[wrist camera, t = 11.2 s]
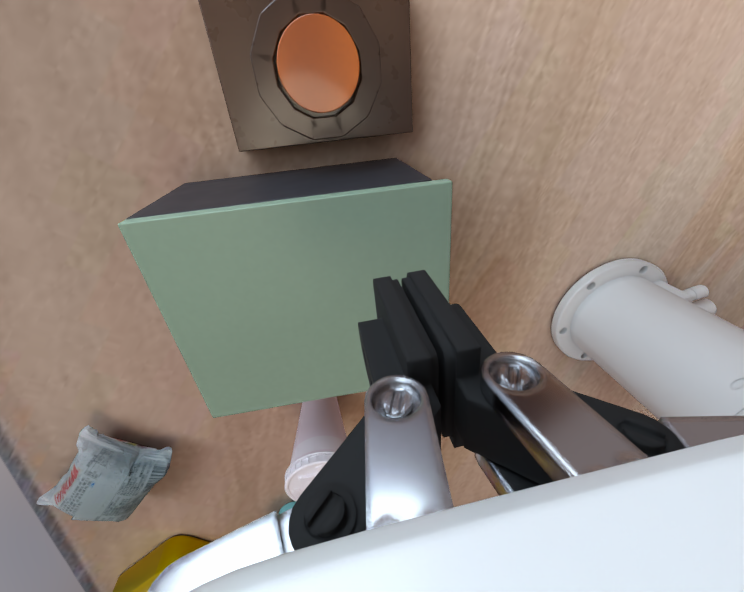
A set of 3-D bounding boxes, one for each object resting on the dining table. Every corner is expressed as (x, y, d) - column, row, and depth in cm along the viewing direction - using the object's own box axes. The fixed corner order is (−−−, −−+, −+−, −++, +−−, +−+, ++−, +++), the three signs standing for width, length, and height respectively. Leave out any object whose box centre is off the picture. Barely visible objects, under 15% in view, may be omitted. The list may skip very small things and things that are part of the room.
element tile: (177, 530, 45) (163, 573, 40) (265, 557, 52) (261, 597, 47) (112, 579, 48) (93, 623, 44) (204, 598, 55) (195, 638, 51)
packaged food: (53, 476, 36) (20, 525, 32) (96, 410, 33) (64, 455, 29) (138, 495, 40) (118, 541, 36) (184, 437, 37) (168, 480, 32)
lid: (447, 178, 18) (453, 181, 17) (443, 370, 25) (446, 377, 24) (125, 219, 17) (116, 224, 16) (215, 409, 24) (212, 418, 23)
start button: (351, 18, 19) (354, 9, 17) (359, 108, 21) (363, 108, 19) (271, 25, 18) (267, 16, 17) (288, 116, 20) (286, 117, 19)
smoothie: (313, 369, 35) (313, 509, 23) (360, 392, 37) (383, 528, 25) (278, 406, 36) (262, 554, 24) (325, 426, 39) (331, 568, 27)
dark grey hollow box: (396, 157, 26) (431, 179, 18) (403, 307, 33) (431, 369, 25) (184, 183, 24) (125, 218, 17) (239, 334, 31) (215, 408, 24)
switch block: (402, -12, 21) (418, -33, 18) (407, 130, 25) (420, 133, 22) (204, 3, 20) (184, -16, 17) (243, 149, 24) (233, 155, 21)
